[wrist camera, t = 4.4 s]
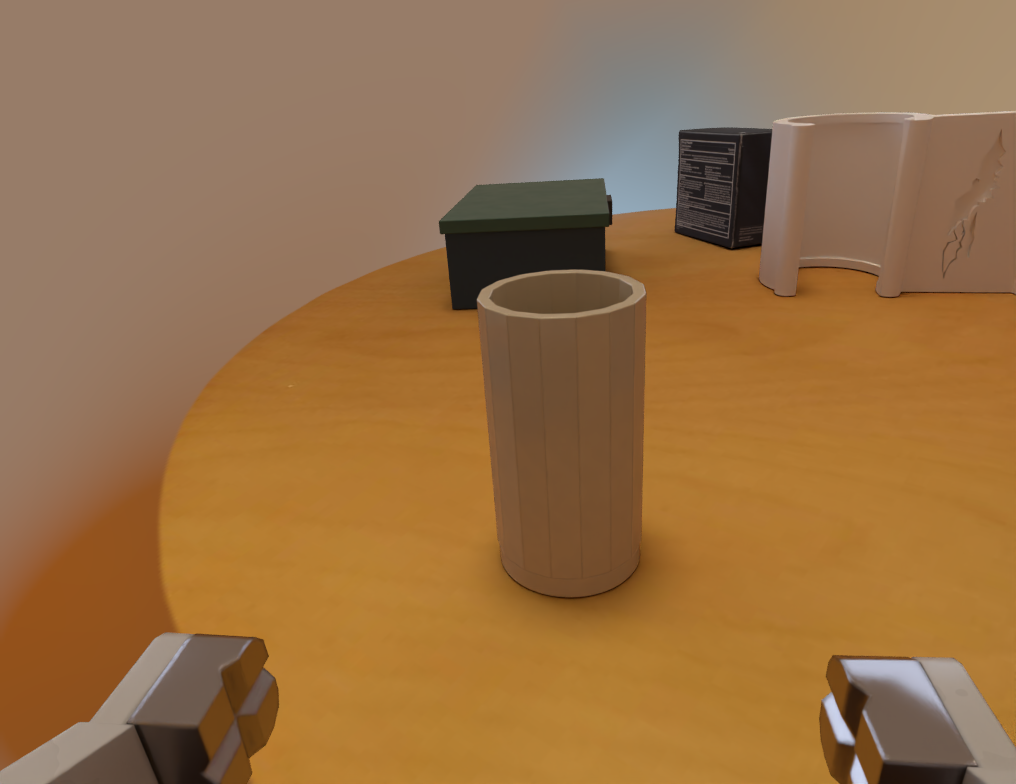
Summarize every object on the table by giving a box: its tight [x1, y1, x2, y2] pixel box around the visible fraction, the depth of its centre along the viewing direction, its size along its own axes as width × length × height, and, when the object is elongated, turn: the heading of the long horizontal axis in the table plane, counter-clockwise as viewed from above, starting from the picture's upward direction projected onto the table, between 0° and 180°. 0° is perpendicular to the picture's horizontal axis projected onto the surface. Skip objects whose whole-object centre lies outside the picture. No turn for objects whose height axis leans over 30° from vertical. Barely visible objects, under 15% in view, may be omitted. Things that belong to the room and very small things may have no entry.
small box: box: [675, 128, 772, 248], centre depth 68 cm, size 11×6×10 cm, turn 19°
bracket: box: [759, 111, 1016, 297], centre depth 50 cm, size 25×10×12 cm, turn 76°
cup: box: [477, 270, 646, 597], centre depth 23 cm, size 5×5×10 cm
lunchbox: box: [439, 178, 612, 309], centre depth 60 cm, size 19×14×7 cm
